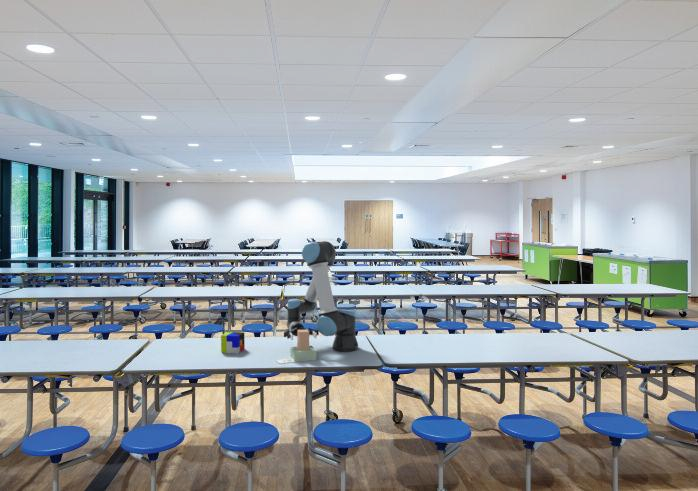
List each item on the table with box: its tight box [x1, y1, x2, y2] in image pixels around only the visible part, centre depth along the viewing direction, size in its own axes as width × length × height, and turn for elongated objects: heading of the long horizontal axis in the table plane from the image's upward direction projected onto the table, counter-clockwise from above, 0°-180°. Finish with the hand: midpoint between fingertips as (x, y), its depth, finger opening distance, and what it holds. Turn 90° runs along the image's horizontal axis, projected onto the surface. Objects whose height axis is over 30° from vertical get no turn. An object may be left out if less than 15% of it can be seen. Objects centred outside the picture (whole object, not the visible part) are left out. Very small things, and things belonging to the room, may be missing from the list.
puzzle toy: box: [220, 331, 246, 354], centre depth 299 cm, size 10×10×10 cm
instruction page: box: [275, 357, 299, 365], centre depth 277 cm, size 10×7×1 cm
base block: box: [290, 345, 317, 362], centre depth 283 cm, size 12×12×5 cm
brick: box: [296, 330, 310, 350], centre depth 283 cm, size 6×6×10 cm
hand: (304, 336), depth 280 cm, fingers open, 12 cm apart
